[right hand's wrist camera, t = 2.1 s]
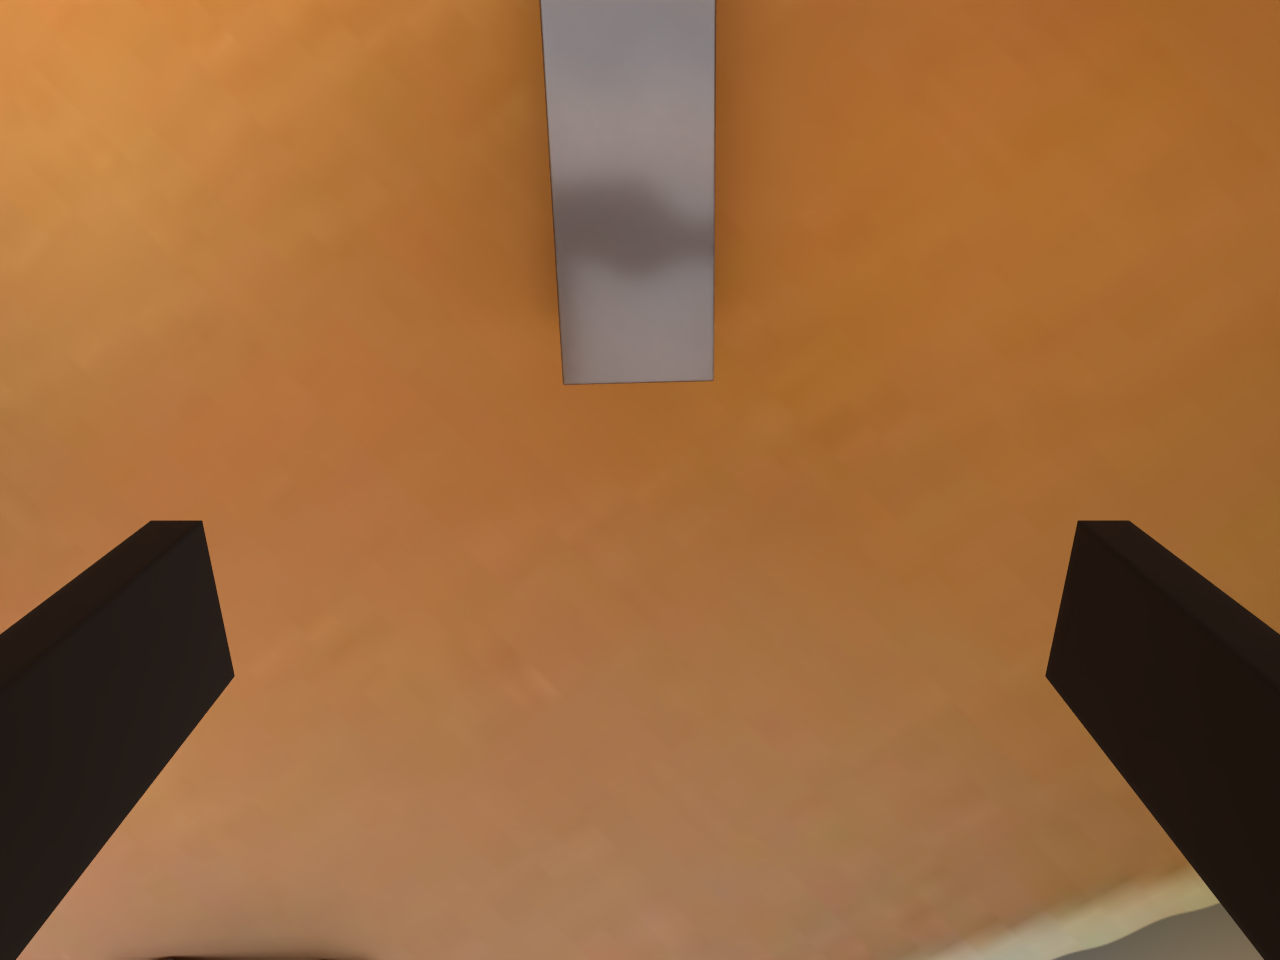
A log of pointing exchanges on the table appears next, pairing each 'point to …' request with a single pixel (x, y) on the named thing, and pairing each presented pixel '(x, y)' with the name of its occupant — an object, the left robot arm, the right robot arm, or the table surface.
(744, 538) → the table surface
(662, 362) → the box
